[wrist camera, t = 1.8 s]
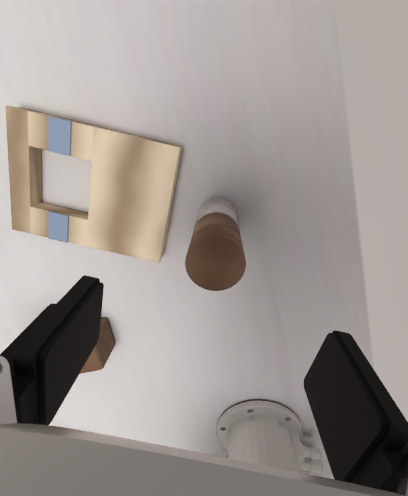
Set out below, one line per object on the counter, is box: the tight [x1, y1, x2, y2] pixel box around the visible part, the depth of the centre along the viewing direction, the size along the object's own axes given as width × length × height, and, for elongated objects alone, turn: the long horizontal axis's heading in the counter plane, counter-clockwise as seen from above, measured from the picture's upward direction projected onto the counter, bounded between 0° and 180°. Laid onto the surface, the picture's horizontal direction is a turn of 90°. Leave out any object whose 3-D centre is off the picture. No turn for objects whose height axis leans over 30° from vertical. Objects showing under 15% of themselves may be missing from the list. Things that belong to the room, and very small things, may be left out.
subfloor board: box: [6, 106, 182, 263], centre depth 28 cm, size 16×12×2 cm
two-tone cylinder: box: [185, 198, 246, 291], centre depth 23 cm, size 4×4×12 cm
